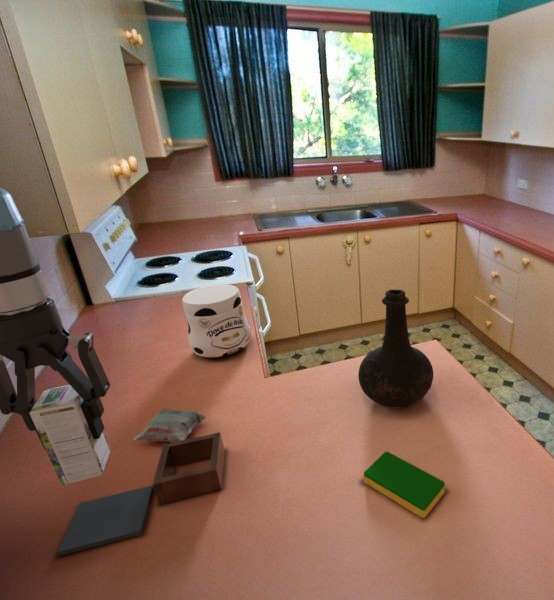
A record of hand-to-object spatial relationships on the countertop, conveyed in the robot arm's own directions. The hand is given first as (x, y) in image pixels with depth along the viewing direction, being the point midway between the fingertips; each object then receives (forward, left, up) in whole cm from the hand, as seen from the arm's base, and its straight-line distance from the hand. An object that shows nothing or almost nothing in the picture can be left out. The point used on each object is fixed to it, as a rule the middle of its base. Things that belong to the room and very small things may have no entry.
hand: (75, 437), depth 67 cm
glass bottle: (+58, +17, -19) cm, 63 cm away
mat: (0, 0, -18) cm, 18 cm away
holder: (+13, +6, -18) cm, 23 cm away
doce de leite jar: (+15, +58, -19) cm, 63 cm away
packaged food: (+7, +20, -19) cm, 28 cm away
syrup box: (0, 0, -7) cm, 7 cm away
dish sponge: (+51, -10, -19) cm, 55 cm away
